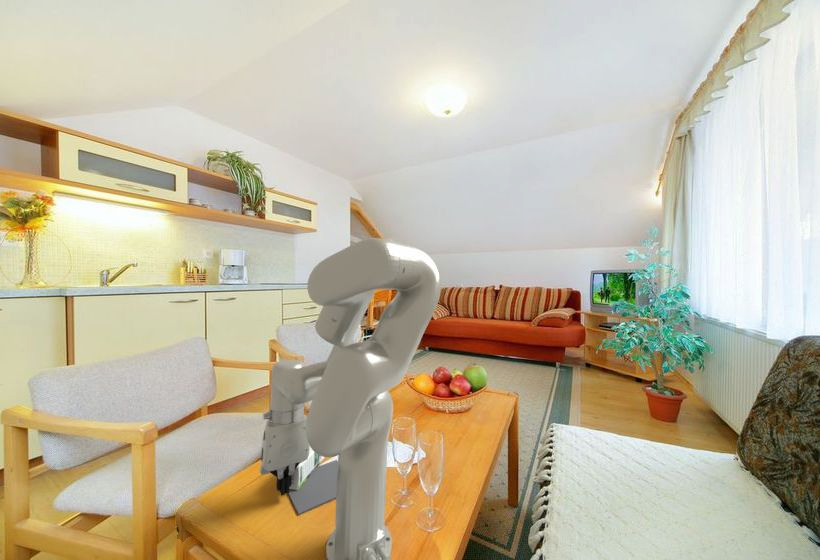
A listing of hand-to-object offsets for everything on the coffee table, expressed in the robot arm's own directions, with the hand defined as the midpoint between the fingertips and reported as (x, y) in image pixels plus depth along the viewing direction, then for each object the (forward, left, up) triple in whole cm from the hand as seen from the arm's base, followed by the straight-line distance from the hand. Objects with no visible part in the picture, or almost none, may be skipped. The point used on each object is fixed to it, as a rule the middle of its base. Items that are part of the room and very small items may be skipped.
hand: (283, 491), depth 69 cm
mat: (0, -9, -2) cm, 9 cm away
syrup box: (+2, -1, +1) cm, 3 cm away
